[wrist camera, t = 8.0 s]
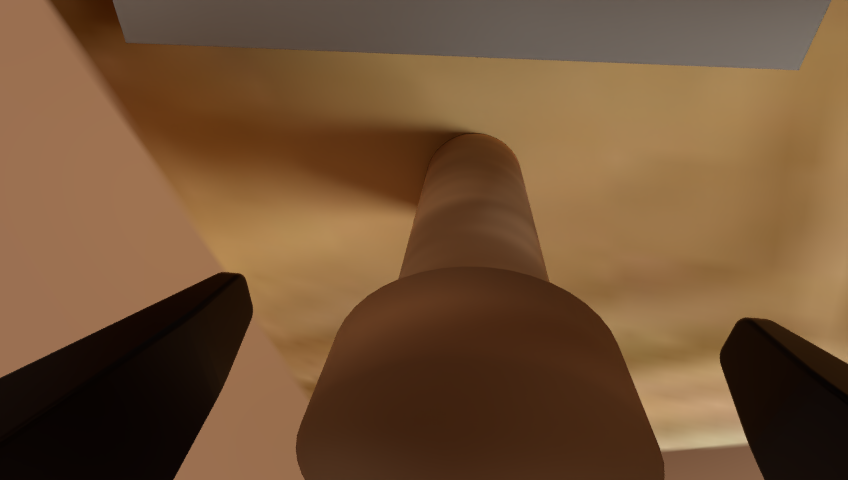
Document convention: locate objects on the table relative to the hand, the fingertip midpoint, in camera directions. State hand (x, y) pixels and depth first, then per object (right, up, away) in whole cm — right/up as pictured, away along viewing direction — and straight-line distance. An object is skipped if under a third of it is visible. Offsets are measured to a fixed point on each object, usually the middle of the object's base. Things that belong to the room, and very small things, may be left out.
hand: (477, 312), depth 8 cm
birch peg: (+1, +3, +6) cm, 6 cm away
